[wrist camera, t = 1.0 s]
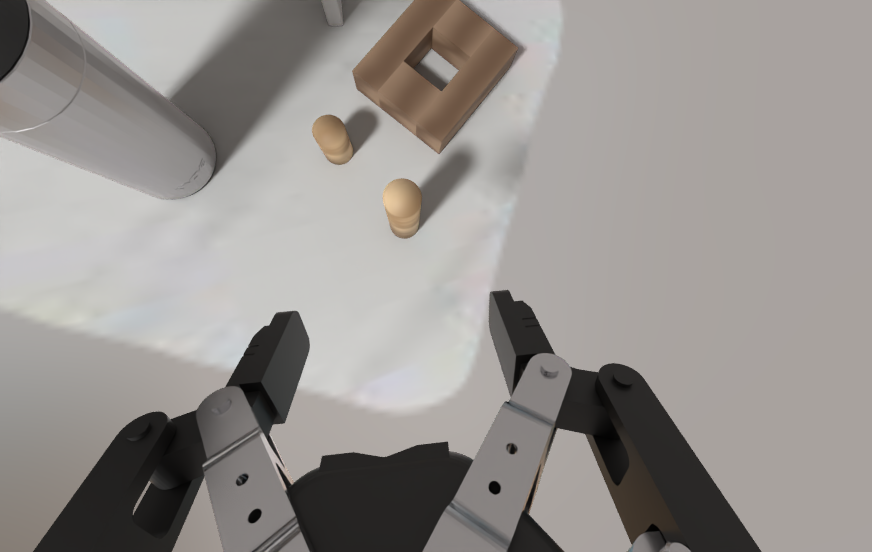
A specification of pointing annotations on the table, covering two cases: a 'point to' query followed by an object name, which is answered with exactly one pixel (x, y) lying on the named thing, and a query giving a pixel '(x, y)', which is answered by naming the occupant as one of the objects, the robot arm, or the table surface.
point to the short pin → (333, 139)
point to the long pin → (403, 207)
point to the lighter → (333, 12)
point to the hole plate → (414, 95)
